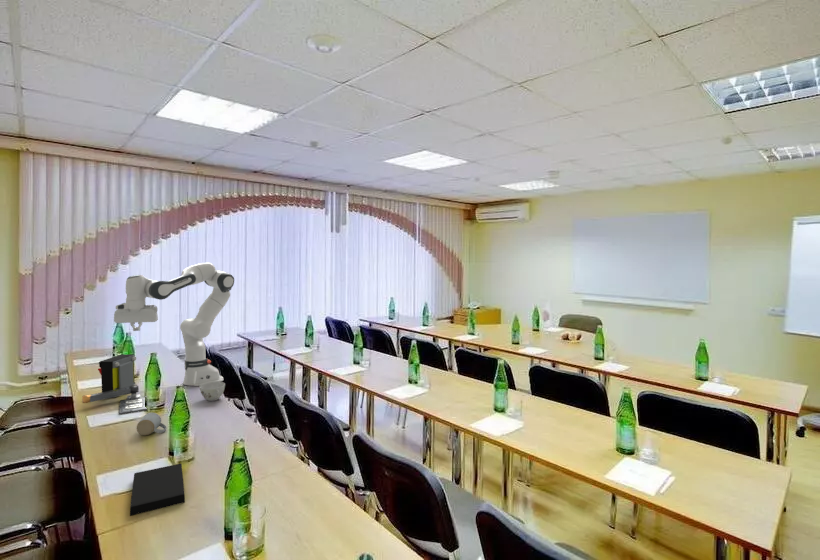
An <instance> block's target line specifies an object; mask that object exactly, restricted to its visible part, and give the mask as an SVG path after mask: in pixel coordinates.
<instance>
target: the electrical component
mask: <svg viewBox="0 0 820 560" xmlns="http://www.w3.org/2000/svg"><path fill="white" fill-rule="evenodd" d="M136 360H137V356H135V354H132V353H131V354H125V353H122V354H119V355H115V356H113V357H110V358H106V359H103V360H100V361H99V362H98V366H99V368H98V369H97V371H98V372H99V374H100V376H101V392H106V391H111V390H116V389H121V388H126V387H130V386H138V384H136V382H135V361H136ZM114 398H116V397H112V398H111V399H114Z"/></svg>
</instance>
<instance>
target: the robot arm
mask: <svg viewBox="0 0 820 560" xmlns="http://www.w3.org/2000/svg"><path fill="white" fill-rule="evenodd" d="M234 277H235V276H233V275H232V274H231V273H229V272H225V271H222V270H217V269H216V267H215V265H214V264H213V263H211V262H201V263H197V264H194V265H190V266H188V267H186V268H184V269H183V270H182V271H181V275H180V276H178V277H176V278H173V279H170V280H168V281H167V280H154V279H150V278H148V277H146V276H145V275H143V274H135V275H131V276H128V277H127V278H126V281H125V294H126V297H125V302H123V303H121V304H117V305H115V310H114V313H113V322H114V323H115V324H126V323H127V324H128V323H130V324H129V325H130V326H131V328H132V331H133V332H139V331H141V327H142V326H143V323H155V322H157V321H158V320H159V316H158V306H156V305H155V304H147V303H146V298H150V299H156V300H158V301H159V300H160V301H162V300H165V299H167V298H169V297H170V296H171V295H172V294H173V293H175V292H176V291H179V290H182V289H183V288H186V287H188V286H194V285H197V284H201V283H205V284H206V285H207V286H209V287H212V291H211V293H210V294H209V295H208V296H207V298H206V299H205V300H204V301H203V303H202V304H201V305H200V306H199V309H198V313H197V314H196V316H195V318H193V317H191V318H186V319H184V320H182V321H181V323H180V325H179V329H180V332H181V335H182V340H183V343H184V350H185V351H184V352H185V355H184V356H185V357H184V358H185V359H184V377H183V381H182V384H183V385H185V386H194V387H200V386H201V385H203V384H206V383H211V382H223V381H224V377H223V376H222V375H220V372H219V369H218V368H217V367H215V366H213V365H212V360H210V359H208V358H206V344H205V341H204V338H207V337H208V336H209V335H210V333H211V328H212V325H213V323H214V321H215V320H216V317H217V316H218V315H219V313H220V312H221V311H222V310H223V309H224V307H225V306H226V304H227V303H228V301H229V299H230V297H231V292H230V291H231V290H232V288H233V286H234V283H235V278H234ZM135 323H137V324H138V326H135Z"/></svg>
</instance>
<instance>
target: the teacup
mask: <svg viewBox="0 0 820 560" xmlns="http://www.w3.org/2000/svg"><path fill="white" fill-rule="evenodd" d="M225 388H226V383H225V382H223V381H221V382H211V383H206V384H203V385H201V386H199V391H200V395H202V397H203V398H204V399H205V400H206V401H207V402H215V401H217V400H219V398H221V396H222V395H223V394H224V392H225Z"/></svg>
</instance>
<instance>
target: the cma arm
mask: <svg viewBox="0 0 820 560" xmlns="http://www.w3.org/2000/svg"><path fill="white" fill-rule="evenodd" d="M131 393H136V394H137V393H139V385H137V386H130V387H126V388H121V389H116V390H111V391H106V392H102V391H101V392H98V393H93V394H85V395H82V397H81V398H82V399H81V400H82V401H81V402H82V404H88V403H92V402H97V401H103V400H107V399H113V398H112V397H115V398H116V397H120V396H126V395H131Z"/></svg>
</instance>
